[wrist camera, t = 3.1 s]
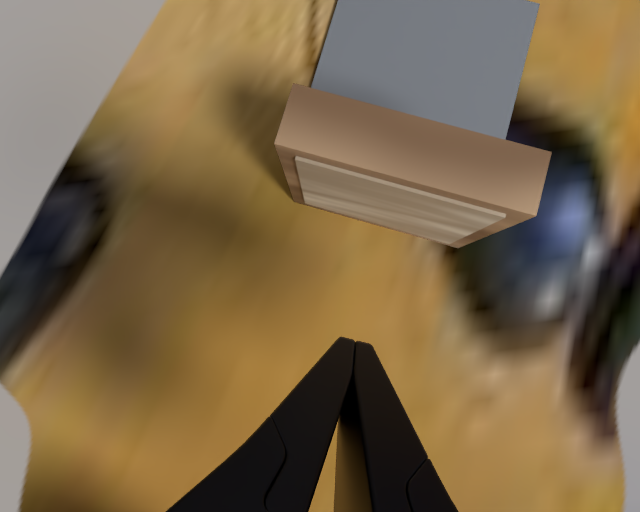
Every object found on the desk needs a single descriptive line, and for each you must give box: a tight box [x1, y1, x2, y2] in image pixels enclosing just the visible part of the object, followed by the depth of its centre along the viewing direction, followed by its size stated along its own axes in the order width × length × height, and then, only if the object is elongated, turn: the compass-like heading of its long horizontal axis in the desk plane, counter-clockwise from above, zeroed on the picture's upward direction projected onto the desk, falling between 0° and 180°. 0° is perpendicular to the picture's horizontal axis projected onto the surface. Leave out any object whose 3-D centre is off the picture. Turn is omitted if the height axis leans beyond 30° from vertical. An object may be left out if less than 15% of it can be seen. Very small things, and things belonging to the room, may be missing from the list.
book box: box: [274, 83, 552, 248], centre depth 20 cm, size 3×10×9 cm, turn 74°
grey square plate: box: [311, 0, 540, 140], centre depth 25 cm, size 13×12×1 cm
